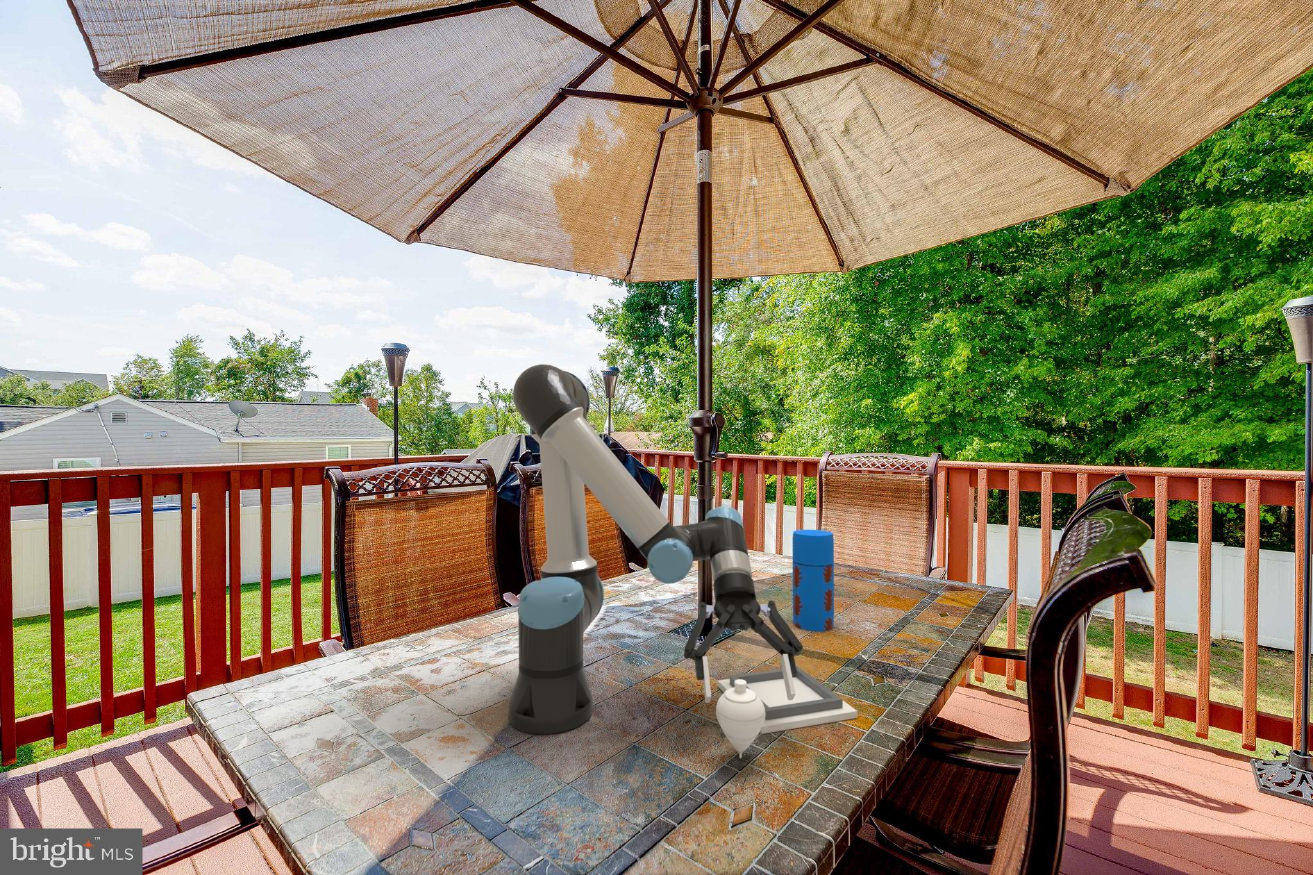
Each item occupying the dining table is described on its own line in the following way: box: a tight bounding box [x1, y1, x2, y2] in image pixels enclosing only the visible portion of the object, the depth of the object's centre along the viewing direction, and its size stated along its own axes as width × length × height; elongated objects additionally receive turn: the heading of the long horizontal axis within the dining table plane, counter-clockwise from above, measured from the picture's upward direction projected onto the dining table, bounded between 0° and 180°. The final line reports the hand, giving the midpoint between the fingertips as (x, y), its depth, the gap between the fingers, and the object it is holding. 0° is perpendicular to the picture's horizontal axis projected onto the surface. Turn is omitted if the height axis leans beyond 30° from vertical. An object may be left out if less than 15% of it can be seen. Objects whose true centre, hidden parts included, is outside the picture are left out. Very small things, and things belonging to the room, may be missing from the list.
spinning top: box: [715, 679, 765, 759], centre depth 86 cm, size 8×8×12 cm
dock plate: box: [717, 666, 858, 735], centre depth 105 cm, size 19×19×3 cm
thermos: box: [791, 529, 835, 633], centre depth 149 cm, size 11×11×25 cm
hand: (750, 698), depth 89 cm, fingers open, 13 cm apart
